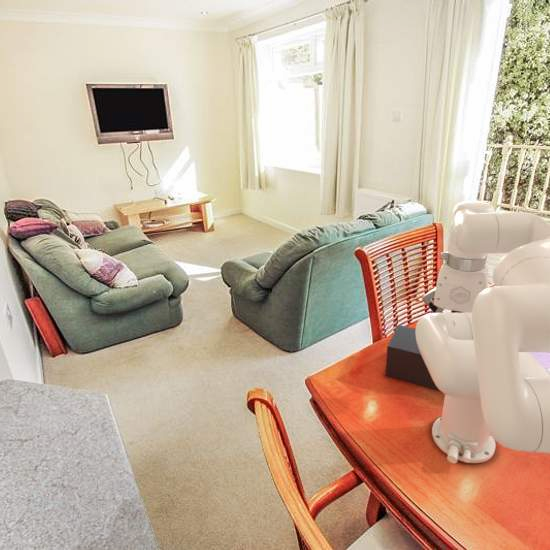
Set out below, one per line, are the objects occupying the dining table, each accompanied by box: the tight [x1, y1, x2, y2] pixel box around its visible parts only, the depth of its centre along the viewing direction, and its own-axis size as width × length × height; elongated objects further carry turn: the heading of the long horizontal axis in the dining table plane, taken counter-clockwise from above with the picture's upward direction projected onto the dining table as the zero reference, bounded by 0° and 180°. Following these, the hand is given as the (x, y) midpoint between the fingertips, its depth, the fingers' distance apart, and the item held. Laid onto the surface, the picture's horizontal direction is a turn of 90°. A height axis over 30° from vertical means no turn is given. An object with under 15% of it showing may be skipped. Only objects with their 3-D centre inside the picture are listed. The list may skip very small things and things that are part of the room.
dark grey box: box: [385, 324, 440, 391], centre depth 103 cm, size 14×12×10 cm
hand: (454, 330), depth 87 cm, fingers closed on onion, 5 cm apart
